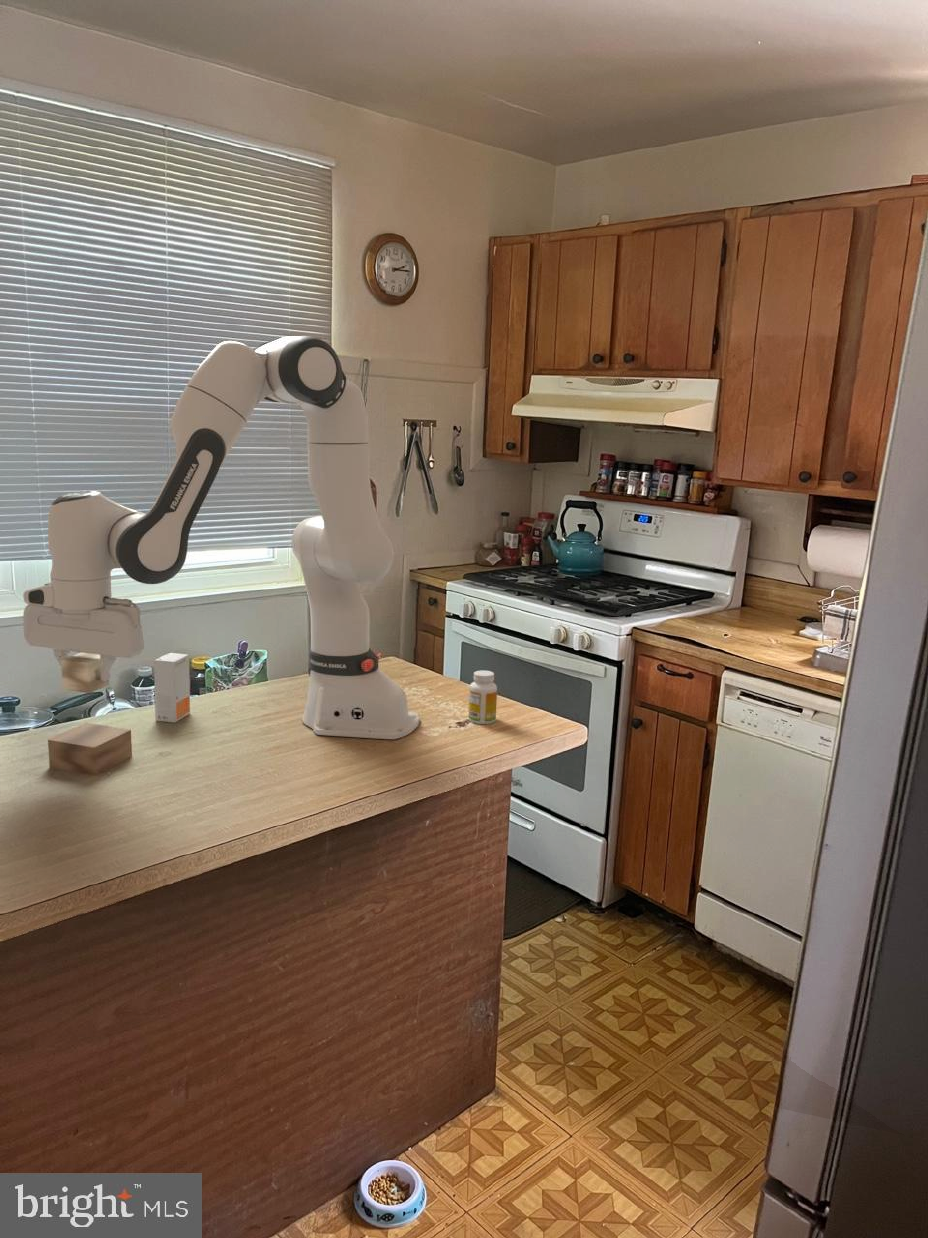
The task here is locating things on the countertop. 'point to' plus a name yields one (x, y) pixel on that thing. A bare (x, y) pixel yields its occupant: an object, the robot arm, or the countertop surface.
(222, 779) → the countertop surface
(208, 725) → the countertop surface
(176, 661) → the skincare box
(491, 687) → the supplement bottle
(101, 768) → the walnut block
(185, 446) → the robot arm
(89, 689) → the birch cube
